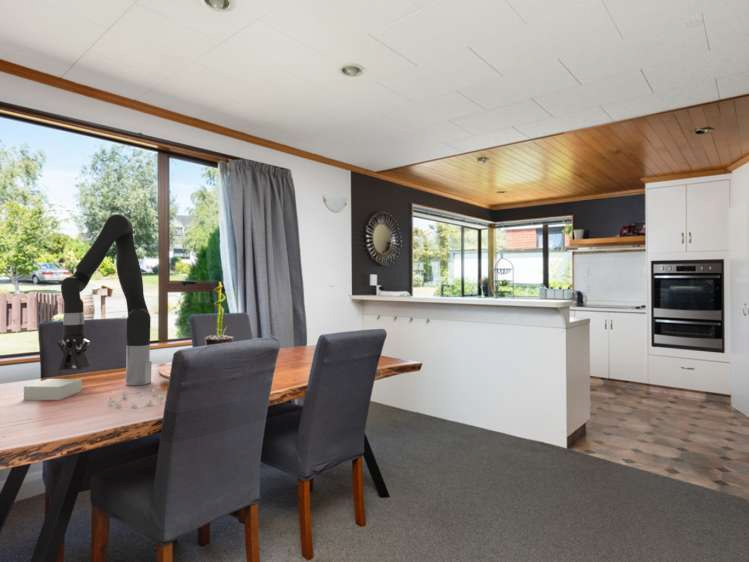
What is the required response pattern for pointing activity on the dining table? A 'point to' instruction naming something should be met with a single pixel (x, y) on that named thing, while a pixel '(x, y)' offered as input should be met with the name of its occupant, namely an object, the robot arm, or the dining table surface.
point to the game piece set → (132, 403)
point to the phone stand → (78, 358)
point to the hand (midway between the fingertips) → (74, 363)
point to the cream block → (52, 389)
